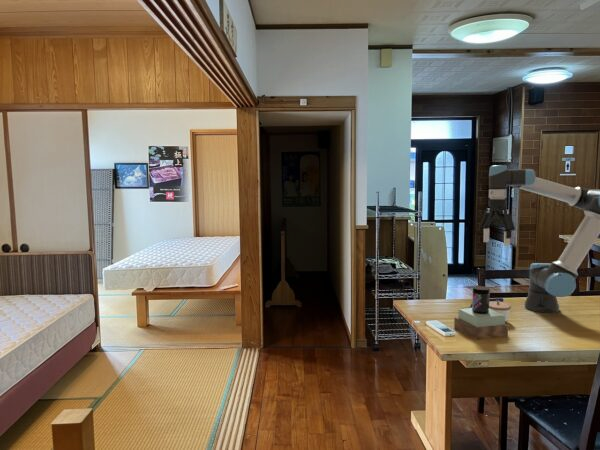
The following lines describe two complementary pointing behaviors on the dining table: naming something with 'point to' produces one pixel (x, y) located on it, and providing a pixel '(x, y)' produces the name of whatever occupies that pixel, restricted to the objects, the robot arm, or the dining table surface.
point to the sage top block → (481, 318)
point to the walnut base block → (480, 330)
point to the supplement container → (480, 299)
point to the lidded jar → (500, 308)
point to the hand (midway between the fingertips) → (496, 243)
